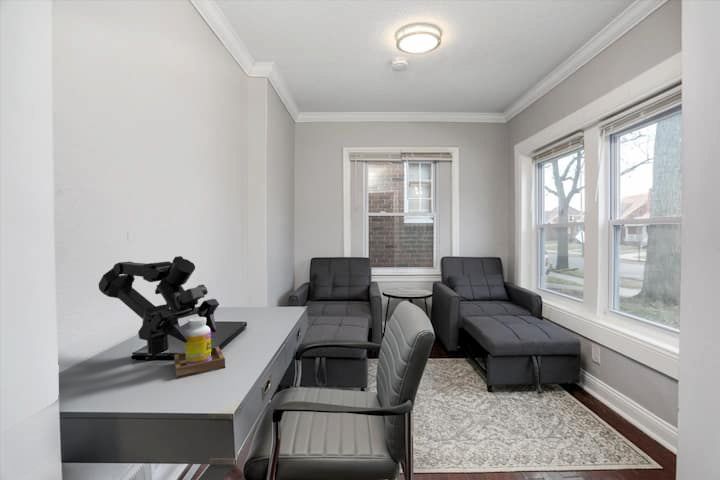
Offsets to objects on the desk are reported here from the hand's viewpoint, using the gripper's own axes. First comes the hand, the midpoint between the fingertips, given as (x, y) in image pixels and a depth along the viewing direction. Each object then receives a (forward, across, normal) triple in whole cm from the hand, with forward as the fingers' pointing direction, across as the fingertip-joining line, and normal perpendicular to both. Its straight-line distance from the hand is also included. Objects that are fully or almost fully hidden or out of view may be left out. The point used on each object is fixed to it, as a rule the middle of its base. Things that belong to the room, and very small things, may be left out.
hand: (201, 336), depth 93 cm
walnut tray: (+5, 0, +7) cm, 9 cm away
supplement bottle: (+5, 0, +7) cm, 8 cm away
